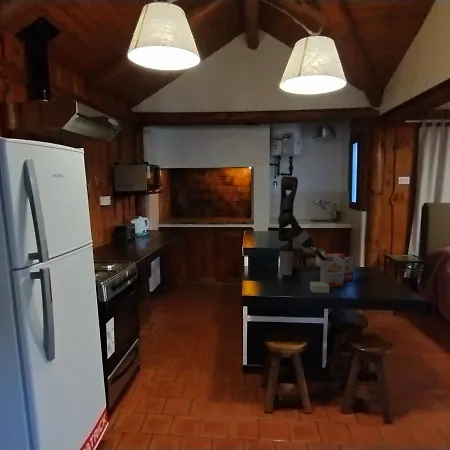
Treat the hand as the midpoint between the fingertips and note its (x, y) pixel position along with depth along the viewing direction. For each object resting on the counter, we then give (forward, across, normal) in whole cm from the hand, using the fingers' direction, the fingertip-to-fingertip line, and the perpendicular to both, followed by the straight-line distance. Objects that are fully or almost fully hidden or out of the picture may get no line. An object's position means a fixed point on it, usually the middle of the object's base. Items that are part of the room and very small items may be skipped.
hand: (323, 258), depth 237 cm
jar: (+2, 0, +4) cm, 5 cm away
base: (+13, 0, +15) cm, 20 cm away
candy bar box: (+28, +25, 0) cm, 37 cm away
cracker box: (+20, +12, +8) cm, 25 cm away
